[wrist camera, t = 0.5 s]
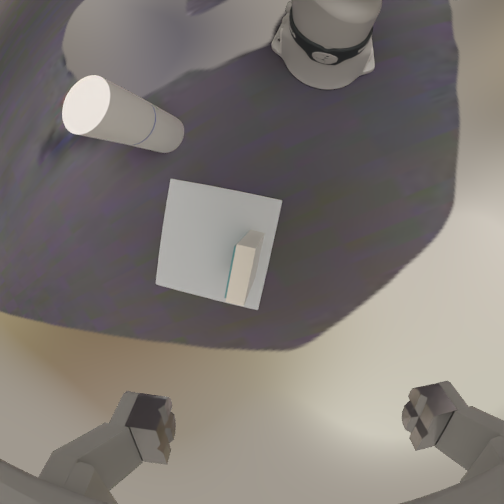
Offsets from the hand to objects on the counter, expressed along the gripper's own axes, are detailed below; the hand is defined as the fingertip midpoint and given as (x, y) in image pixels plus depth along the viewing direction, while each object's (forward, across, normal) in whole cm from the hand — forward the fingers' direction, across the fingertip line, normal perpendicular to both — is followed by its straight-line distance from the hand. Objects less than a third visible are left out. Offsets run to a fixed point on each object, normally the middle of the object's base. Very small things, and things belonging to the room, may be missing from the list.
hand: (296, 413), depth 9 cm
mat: (+46, +8, +7) cm, 47 cm away
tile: (+44, +1, +8) cm, 45 cm away
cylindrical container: (+49, +17, -13) cm, 54 cm away
